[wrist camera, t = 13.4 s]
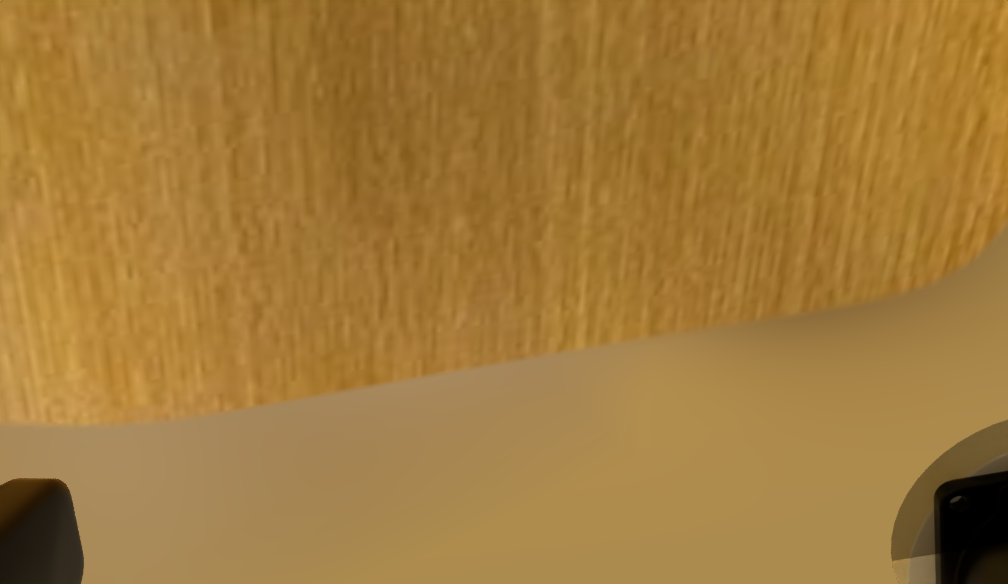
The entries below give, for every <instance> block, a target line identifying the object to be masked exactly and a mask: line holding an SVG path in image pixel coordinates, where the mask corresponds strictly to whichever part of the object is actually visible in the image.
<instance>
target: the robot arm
mask: <svg viewBox="0 0 1008 584" xmlns="http://www.w3.org/2000/svg"><path fill="white" fill-rule="evenodd" d="M957 496H961V498H960V499H959V500H958V501H956V502H953V503H950V501H951V500H952V499H953V498H955V497H957ZM934 533H935V574H936V584H1008V471H1003V472H997V473H991V474H985V475H979V476H972V477H966V478H960V479H954V480H950V481H947V482H944V483H943V484H942V485H940V486H939V487H938V488H937V490H936V491H935V494H934ZM83 568H84V557H83V551H82V546H81V541H80V536H79V531H78V526H77V521H76V517H75V512H74V507H73V502H72V497H71V494H70V491H69V489H68V487H67V485H66V484H65V483H64V482H62V481H61V480H59V479H36V478H19V479H13V480H10V481H8V482H6V483H4V484H3V485H0V584H81V581H82V576H83Z"/></svg>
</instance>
